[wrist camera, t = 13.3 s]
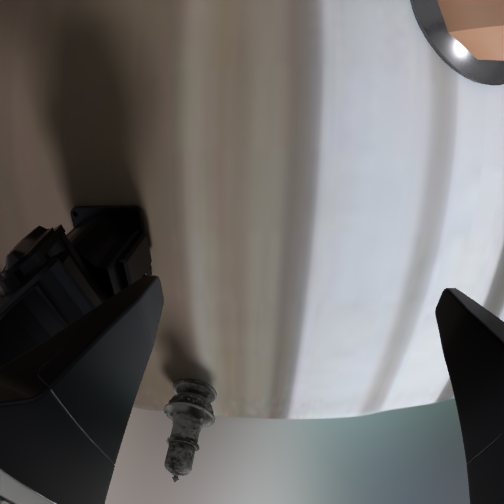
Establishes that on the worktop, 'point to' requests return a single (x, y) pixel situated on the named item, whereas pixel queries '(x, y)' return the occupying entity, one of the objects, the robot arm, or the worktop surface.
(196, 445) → the grey turned figure
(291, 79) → the worktop surface
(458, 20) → the tan rounded cylinder
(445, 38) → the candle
